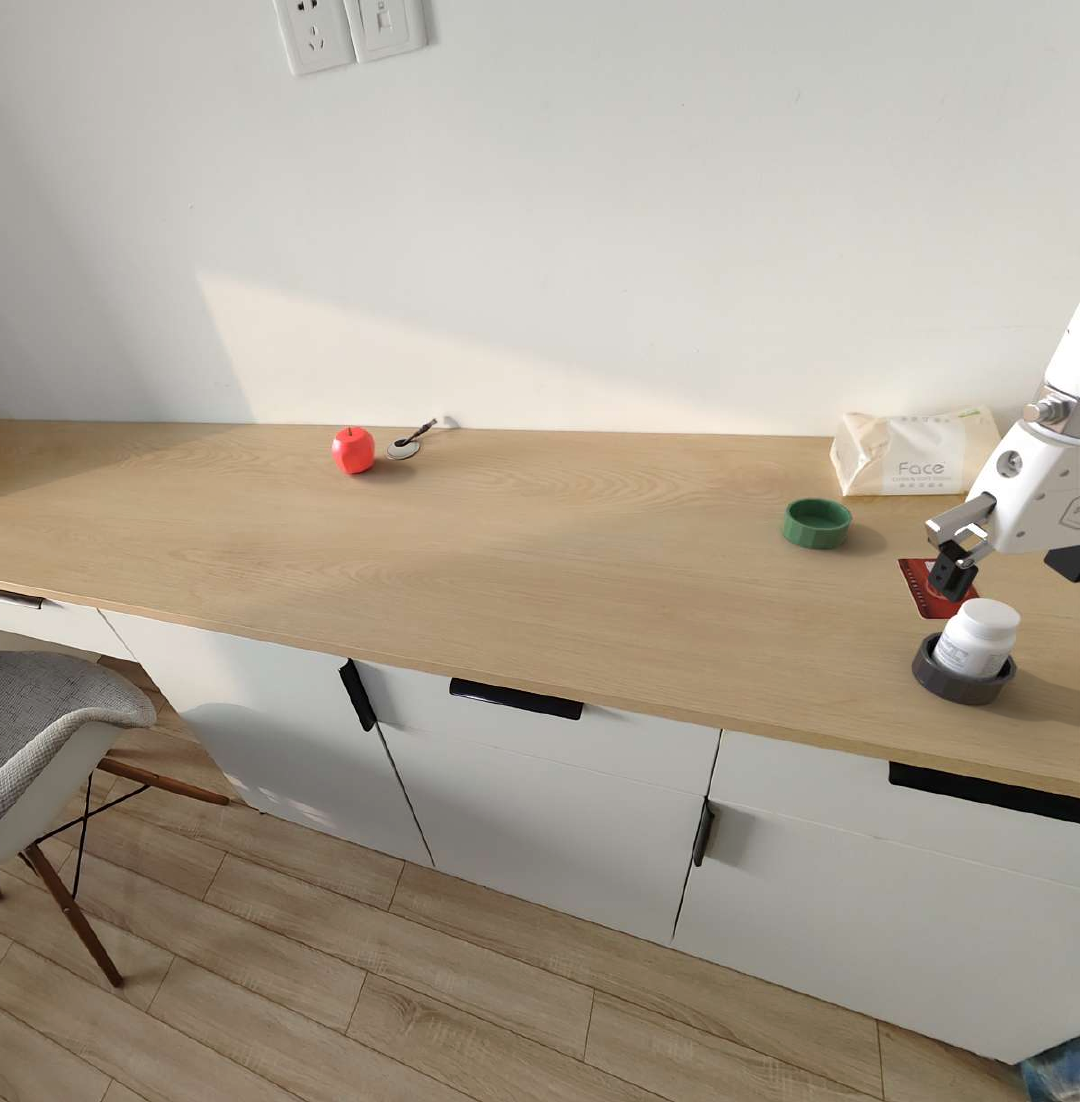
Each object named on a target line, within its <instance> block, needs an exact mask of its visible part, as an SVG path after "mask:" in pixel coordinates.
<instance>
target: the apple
mask: <svg viewBox="0 0 1080 1102" xmlns="http://www.w3.org/2000/svg"><path fill="white" fill-rule="evenodd" d="M375 443H376V442H375V440H374V437H373V435H372V434H371V433H370V432H368V430H366V429H365V428H362V427H360V426H354V427H353V426H352V427H349V426H348V427H346V428H343V429H342V430H340V431H338V432H336V435H335V437H334V440H333V443H332V445H331V456H332V458H333V460H334V462H335V464H336V466H337V467H338V469H339V470H342V471H343V472H345V473H347V474H350V475H353V474H359V473H361V472H364V471H366V470H368V469H369V468H371V467H372V466H373V465H374V461H375V447H376V444H375Z"/></svg>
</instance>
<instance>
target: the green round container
mask: <svg viewBox="0 0 1080 1102" xmlns="http://www.w3.org/2000/svg"><path fill="white" fill-rule="evenodd" d="M852 521H853V516H852V512H851V511H850V510H849V509H848V508H847V507H846V506H845V505H843V504H841V503H839V502H836V501H835V500H831V499H826V498H821V497H805V498H799V499H796V500H794V501H791V502H789V503H788V504H787V506H786V507H785V509H784V513H783V518H782V521H781V525H780V526H781V527H780V528H781V529H780V531H781V534H782V536H783V537H784V538H785V539H787V540H788V541H789V542H791V543H792V544H794V545H797V546H798V547H799V546H800V547H803V548H807V549H811V550H826V549H827V550H828V549H834V548H836V547H838V546H840V545H842V544H843V543H844V542H845V540H846V539H847V536H848V533H849V530H850V527H851V525H852Z"/></svg>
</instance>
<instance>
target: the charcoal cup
mask: <svg viewBox="0 0 1080 1102" xmlns="http://www.w3.org/2000/svg"><path fill="white" fill-rule="evenodd" d="M942 633H943V631H937V632H932V633H931V634H929V635H927V636H926V637H924V638H923V639H922V641H921V643H920V645H919V648H918V649H917V652H916V654H915V655H914V659H913V661H912V663H911V672H912V674H913V677H914V679H916V681H917V682H918V683H919V684H920V685H921V686H922V687H923V688H924V689H926V690H927V691H928V692H930V693H932V694H933V695H935V696H937V697H939V698H942V699H943V700H947V701H949V702H952V703H956V704H960V705H965V706H966V705H967V706H987V705H990V704H993V703H995V702H997V701H998V700H1000V699H1001V697H1002V696H1003V695H1004V694H1005V693H1006V691H1007V690H1008V688H1009V687H1010V685H1011V683H1012V682H1013V680H1014V679H1015V677H1016V674H1017V669H1018V667H1017V664H1016V662H1015V660H1014V659H1013V657H1012V655H1011V654H1009V655H1008V657H1007V659H1006V661H1005V662H1004V664H1003V666H1002V667H1001V669H1000V671H999V673H998V674H997V676H996V677H995V679H994V681H991V682H981V681H971V680H967V679H964V678H961V677H958V676H955V675H952V674H951V673H949V672H947V671H945V670H943V669H942V668H940V667H938V666H937V665H936V664H935V663H934V662H933V661H932V660H931V659H930V658H931V656H932V654H933V652H934V649H935V647H936V645H937V643H938V641H939V639H940V637H941V635H942Z"/></svg>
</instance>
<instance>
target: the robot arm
mask: <svg viewBox="0 0 1080 1102" xmlns="http://www.w3.org/2000/svg"><path fill="white" fill-rule="evenodd" d="M1021 416H1022V418H1020V419H1018V420H1016V422H1015V423H1014V425H1013V426H1012V427H1011V428H1010V429H1009V430H1008V432H1007V433H1006V434H1005V436H1004V437H1003V438H1002V440H1001V441H1000V443H999V444H998V445H997V447H996V448H995V449H994V451H993V453H992V454H991V455H990V457H989V458H988V460H987V462H986V463H985V465H984V466H983V468H982V469H981V471H980V473H979V475H978V477H977V478H976V480H975V481H974V483H973V485H972V487H971V489H970V491H969V492H968V494H967V496H966V499H965V501H964V502H963V503H961V504H959V505H957V506H955V507H952V508H950V509H948V510H946V511H944V512H942V513H940V514H938V515H935V516H934V517H932V518H930V519H928V520H927V521H926V522H925V523H924V528H925V531H926V534H927V535H926V536H927V542H928V543H929V544H930V545H931V546H933V548H935V549H936V550H937V551H938V552H939V553H938V555H937V557H936V560H935V562H934V564H933V566H932V568H931V570H930V572H929V574H928V576H927V582H928V584H930V585H931V586H932V587H933V588H934V589H935V590H936V591H937V592H939V593H940V594H941V595H942V596H943V597H944V598H945V599H947V600H948V601H949V602H950V603H951V604H955V603H960V602H961V603H962V601H963V600H964V599H965V596H966V595H967V592H968V591H969V589H970V587H971V585H972V584H973V582H974V580H975V578H976V577H977V575H978V574H979V571H980V568H979V567H978V566H977V565H976V564H977V563H979V562H980V561H982V560H983V559H984V558H986V557H987V556H989V555H990V554H992V553H993V552H995V551H996V552H997V553H999V554H1001V555H1011V556H1013V555H1024V554H1031V553H1038V552H1039V553H1040V552H1044V551H1047V553H1046V554H1045V556H1044V558H1043V563H1044V564H1045V565H1046V566H1048V567H1049V568H1050V569H1052V570H1053V571H1055V572H1056V573H1058V574H1059V575H1060V576H1062V577H1063V578H1064V579H1066V580H1067V581H1069V582H1071V583H1073V584H1080V303H1078V306H1077V308H1076V309H1075V311H1074V313H1073V315H1072V317H1071V319H1070V322H1069V323H1068V325H1067V328H1066V329H1065V332H1064V334H1063V336H1062V337H1061V340H1060V341H1059V344H1058V345H1057V348H1056V350H1055V351H1054V353H1053V355H1052V357H1051V360H1050V361H1049V364H1048V365H1047V368H1046V369H1045V372H1044V373H1043V375H1042V377H1041V379H1040V381H1039V382H1038V385H1037V387H1036V389H1035V391H1034V393H1033V395H1032V397H1031V399H1030V401H1029V403H1028V404H1027V405H1025V406H1024V407H1023V408H1022V411H1021ZM985 525H987V530H986V529H985V528H983V527H982V526H985ZM973 535H976V536H977V537H979V538H980V539H981V541H979V542H978V543H976V544H975V545H974V546H972V547H971V548H970V549H968V550H965V548H964V547H962V546H961V545H960V544H962V542H964V541H965V540H967V539H968V538H970V537H971V536H973Z"/></svg>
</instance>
